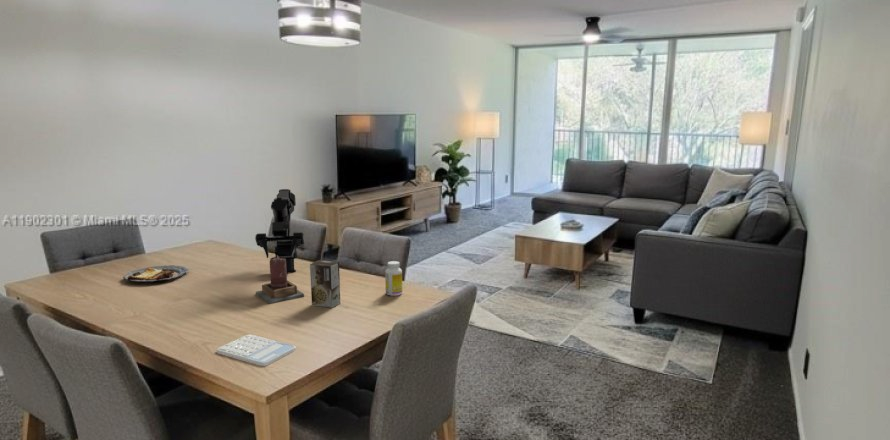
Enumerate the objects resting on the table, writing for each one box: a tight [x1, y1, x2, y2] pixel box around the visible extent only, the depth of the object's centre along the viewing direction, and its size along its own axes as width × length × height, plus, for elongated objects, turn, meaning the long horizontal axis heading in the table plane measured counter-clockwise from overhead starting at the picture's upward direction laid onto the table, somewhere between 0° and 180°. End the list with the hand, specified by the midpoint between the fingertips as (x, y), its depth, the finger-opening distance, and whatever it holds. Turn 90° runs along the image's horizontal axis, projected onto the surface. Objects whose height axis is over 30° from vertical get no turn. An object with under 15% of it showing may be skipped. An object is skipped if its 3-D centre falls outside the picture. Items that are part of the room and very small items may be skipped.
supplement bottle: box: [384, 260, 403, 297], centre depth 214 cm, size 7×7×13 cm
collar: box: [255, 279, 305, 305], centre depth 211 cm, size 14×14×4 cm
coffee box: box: [309, 259, 341, 309], centre depth 201 cm, size 9×6×16 cm
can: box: [269, 256, 288, 290], centre depth 210 cm, size 6×6×14 cm
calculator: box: [216, 333, 297, 367], centre depth 162 cm, size 13×20×2 cm, turn 63°
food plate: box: [122, 264, 190, 283], centre depth 233 cm, size 25×23×4 cm
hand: (279, 257), depth 216 cm, fingers open, 9 cm apart
